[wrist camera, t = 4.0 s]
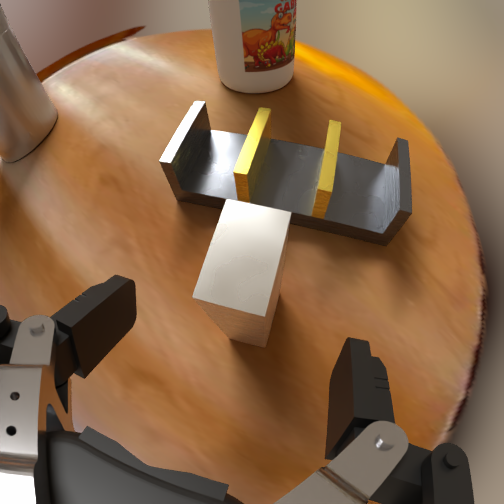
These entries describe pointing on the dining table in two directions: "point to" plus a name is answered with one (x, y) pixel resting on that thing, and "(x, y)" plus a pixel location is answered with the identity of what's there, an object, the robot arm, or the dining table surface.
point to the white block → (244, 271)
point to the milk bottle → (254, 43)
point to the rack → (290, 177)
